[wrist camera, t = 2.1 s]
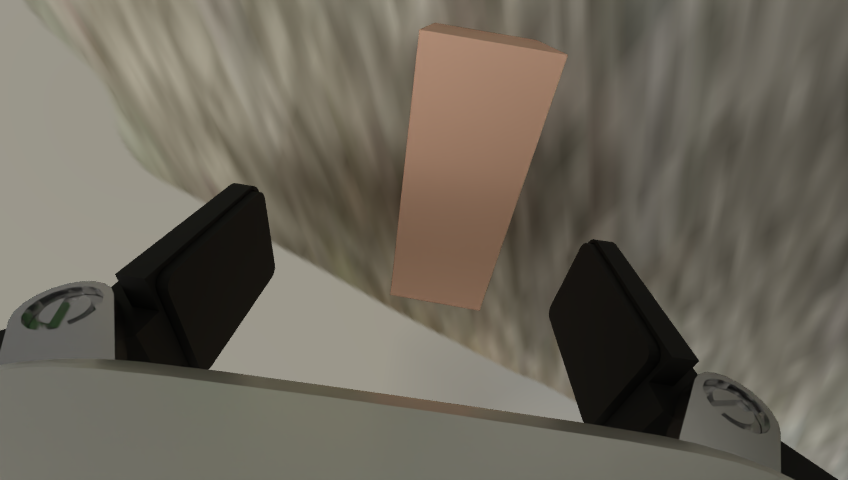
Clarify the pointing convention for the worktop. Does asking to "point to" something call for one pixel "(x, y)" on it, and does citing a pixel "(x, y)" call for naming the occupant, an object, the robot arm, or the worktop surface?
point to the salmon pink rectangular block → (467, 157)
